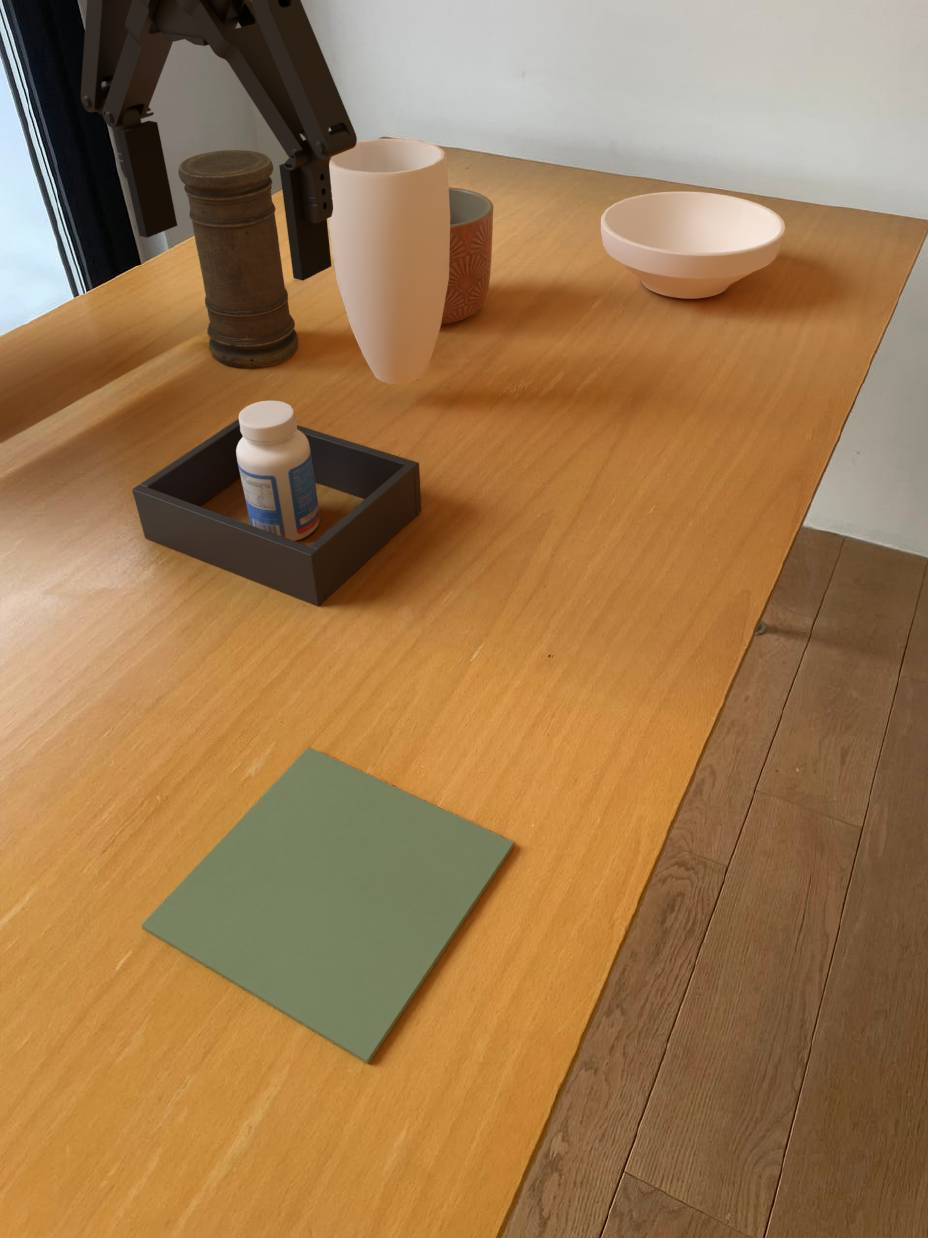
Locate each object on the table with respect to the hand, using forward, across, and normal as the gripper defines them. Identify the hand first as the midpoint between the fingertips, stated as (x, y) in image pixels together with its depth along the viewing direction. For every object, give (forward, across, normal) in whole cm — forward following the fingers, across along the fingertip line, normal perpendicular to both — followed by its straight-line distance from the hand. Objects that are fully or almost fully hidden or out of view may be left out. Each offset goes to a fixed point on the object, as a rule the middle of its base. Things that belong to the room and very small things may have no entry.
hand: (232, 251), depth 65 cm
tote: (+21, -1, 0) cm, 21 cm away
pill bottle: (+22, -1, 0) cm, 22 cm away
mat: (+21, -25, +23) cm, 40 cm away
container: (+22, +23, -22) cm, 38 cm away
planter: (+22, +13, -40) cm, 47 cm away
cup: (+22, +4, -21) cm, 30 cm away
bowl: (+22, -7, -60) cm, 64 cm away
